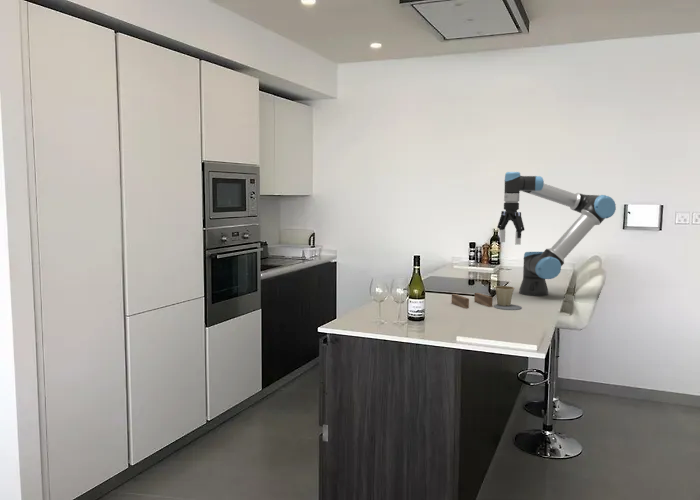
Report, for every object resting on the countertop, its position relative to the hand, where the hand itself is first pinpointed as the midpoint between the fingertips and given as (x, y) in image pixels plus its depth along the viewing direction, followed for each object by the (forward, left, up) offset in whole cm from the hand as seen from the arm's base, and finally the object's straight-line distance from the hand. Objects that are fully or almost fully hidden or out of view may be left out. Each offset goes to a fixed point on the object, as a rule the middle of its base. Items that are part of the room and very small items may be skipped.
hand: (509, 243), depth 306 cm
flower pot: (+14, +17, -28) cm, 36 cm away
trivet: (+15, +21, -29) cm, 38 cm away
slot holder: (+28, +11, -29) cm, 41 cm away
